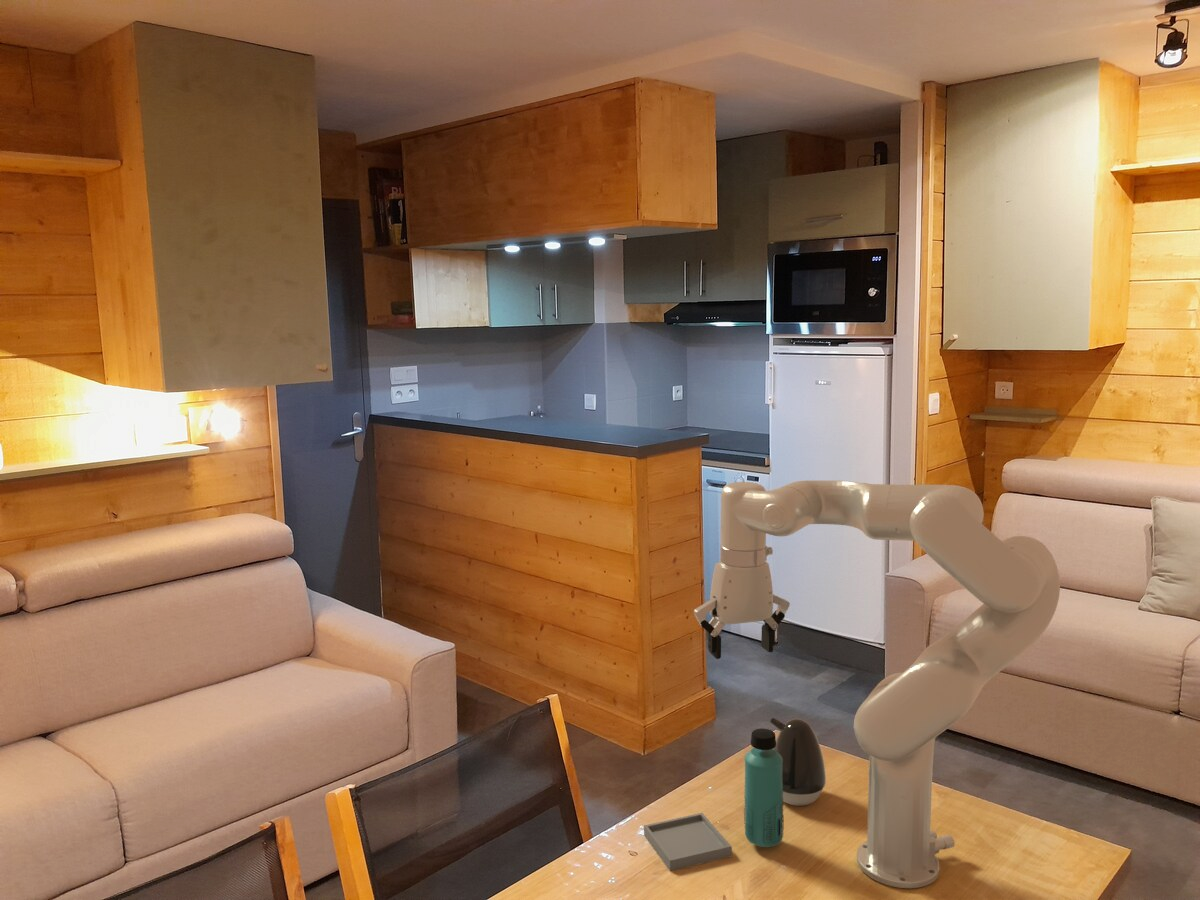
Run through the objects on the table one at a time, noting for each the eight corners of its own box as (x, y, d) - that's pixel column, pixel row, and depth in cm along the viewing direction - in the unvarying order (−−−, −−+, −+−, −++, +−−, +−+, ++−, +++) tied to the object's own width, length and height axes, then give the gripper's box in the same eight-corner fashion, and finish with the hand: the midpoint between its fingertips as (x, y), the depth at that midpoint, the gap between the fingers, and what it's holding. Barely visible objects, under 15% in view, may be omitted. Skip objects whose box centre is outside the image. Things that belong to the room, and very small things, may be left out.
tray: (702, 822, 162) (702, 812, 162) (731, 856, 152) (731, 846, 152) (644, 835, 159) (643, 825, 159) (670, 870, 149) (669, 860, 148)
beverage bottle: (783, 858, 151) (784, 742, 148) (742, 854, 153) (742, 739, 150) (783, 835, 158) (784, 725, 155) (744, 832, 159) (744, 722, 156)
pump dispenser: (781, 778, 177) (782, 703, 175) (833, 794, 171) (835, 716, 169) (757, 802, 169) (758, 723, 166) (811, 819, 163) (812, 737, 160)
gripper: (779, 546, 162) (777, 640, 165) (686, 554, 157) (686, 650, 160) (799, 557, 155) (797, 655, 158) (703, 566, 150) (702, 666, 153)
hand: (741, 652), depth 159 cm, fingers open, 9 cm apart
